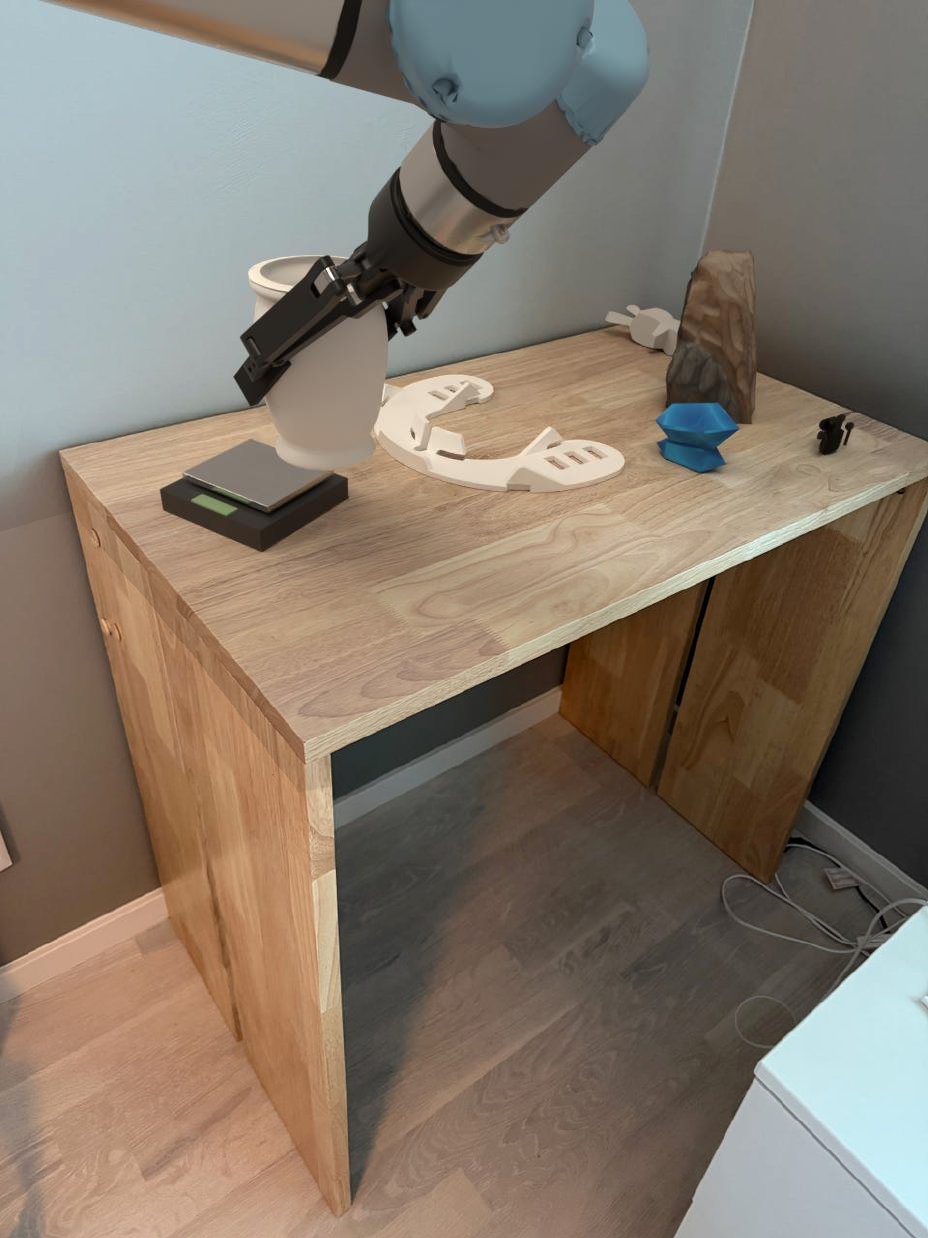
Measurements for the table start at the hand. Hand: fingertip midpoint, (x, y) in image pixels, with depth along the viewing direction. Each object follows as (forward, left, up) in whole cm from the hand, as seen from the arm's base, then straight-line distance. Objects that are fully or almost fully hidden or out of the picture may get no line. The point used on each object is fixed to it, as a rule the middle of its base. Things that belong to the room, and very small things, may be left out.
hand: (300, 373), depth 74 cm
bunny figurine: (+1, +84, -20) cm, 86 cm away
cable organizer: (-3, +36, -20) cm, 41 cm away
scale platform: (-13, +7, -17) cm, 23 cm away
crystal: (+22, +46, -20) cm, 54 cm away
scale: (-13, +7, -20) cm, 25 cm away
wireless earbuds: (+35, +61, -20) cm, 73 cm away
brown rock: (+18, +64, -20) cm, 69 cm away
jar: (+3, 0, -6) cm, 7 cm away
